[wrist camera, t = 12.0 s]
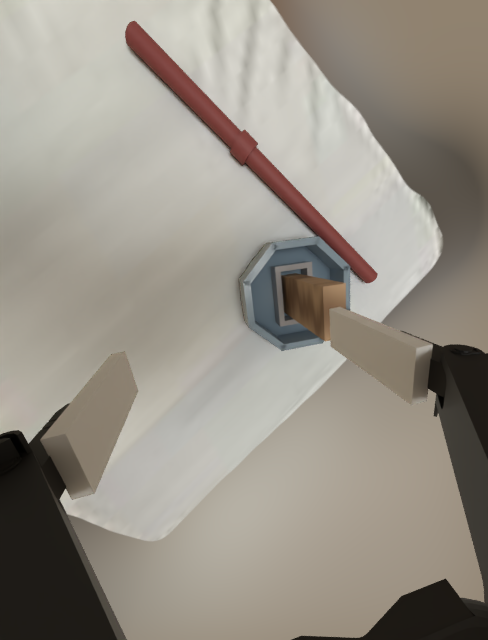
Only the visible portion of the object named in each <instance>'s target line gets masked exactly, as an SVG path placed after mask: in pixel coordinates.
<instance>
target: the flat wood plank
mask: <svg viewBox="0 0 488 640" xmlns="http://www.w3.org/2000/svg"><path fill="white" fill-rule="evenodd" d="M281 281H282V294H283V306H284V313H286V314H287V315H289V316H290V317H291V318H293V319H294V320H296V321H297V322H298V323H300V324H301V325H303V326H304V327H305V328H307V329H308V330H310V331H311V332H312V333H314V334H315V335H317V336H318V337H319V338H321V339H322V340H324V341H329V340H331V338H330V313H329V309H332V308H337V307H341V308H344V309H346V283H343V282H338V281H333V280H328V279H322V278H317V277H312V276H307V275H302V274H297V273H294V274H287V275H281Z"/></svg>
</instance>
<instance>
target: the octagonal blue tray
mask: <svg viewBox="0 0 488 640" xmlns="http://www.w3.org/2000/svg"><path fill="white" fill-rule="evenodd" d="M294 273H297V274H302V275H307V276H312V277H317V278H322V279H328V280H333V281H338V282H343V283H346V310H350V265H348V264H347V263H346V262H345V261H344V260H343V259H342V258H341V257H340V256H339V255H338V254H337V253H336V252H335V251H334V250H333V249H331V248H330V247H329V246H328V245H327V244H326V243H325V242H324V241H323V240H322V239H321V238H320V237H319V236H315V237H310V238H303V239H295V240H288V241H280V242H270V243H266V244H265V245H264V246H263V248H262V249H261V250H260V252H259V253H258V254H257V255H256V256H255V257H254V258H253V260H252V261H251V262H250V264H249V265H248V267H247V269H246V271H245V272H244V273H243V275H242V276H241V277H240V279H239V283H240V294H241V302H242V307H243V313H244V321H245V322H246V324H247V326H248V327H249V328H251V329H252V330H253V331H255V332H256V333H258V334H259V335H260V336H262V337H263V338H265V339H266V340H268V341H269V342H270V343H272V344H273V345H275V346H276V347H278V348H279V349H280V350H281V351H284V350H289V349H294V348H299V347H305V346H310V345H315V344H321V343H323V342H324V340H322V339H321V338H319V337H318V336H317V335H315V334H314V333H312V332H311V331H310V330H308V329H307V328H305V327H304V326H303V325H301V324H300V323H298V322H297V321H296V320H294V319H293V318H291V317H290V316H289V315H287V314H286V313H284V306H283V294H282V281H281V275H287V274H294Z"/></svg>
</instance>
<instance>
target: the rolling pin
mask: <svg viewBox="0 0 488 640" xmlns="http://www.w3.org/2000/svg"><path fill="white" fill-rule="evenodd" d="M125 38H126V43H127V45H128V46H129V47H130V48H131V49H132V50H133V51H134V52H135V53H136V54H137V55H138V56H139V57H140V58H141V59H142V60H143V61H144V62H145V63H146V64H147V65H148V66H149V67H150V68H151V69H152V70H153V71H154V72H155V73H156V74H157V75H158V76H159V77H160V78H161V79H162V80H163V81H164V82H165V83H166V84H167V85H168V86H169V87H170V88H171V89H172V90H173V91H174V92H175V93H176V94H177V95H178V96H179V97H180V98H181V99H182V100H183V101H184V102H185V103H186V104H187V105H188V106H189V107H190V108H191V109H192V110H193V111H194V112H195V113H196V114H197V115H198V116H199V117H200V118H201V119H202V120H203V121H204V122H205V123H206V124H207V125H208V126H209V127H210V128H211V129H212V130H213V131H214V132H215V133H216V134H217V135H218V136H219V137H220V138H221V139H222V140H223V141H224V142H225V143H226V144H227V145H228V146H229V147H230V148H231V150H230V153H231V154H232V155H233V156H234V157H235V158H236V159H237V160H238V161H239V162H240V163H241V164H242V165H244V164H245V163H246V164H247V165H248V166H249V167H250V168H251V169H252V170H253V171H254V172H255V173H256V174H257V175H258V176H259V177H260V178H261V179H262V180H263V181H264V182H265V183H266V184H267V185H268V186H269V187H270V188H271V189H272V190H273V191H274V192H275V193H276V194H277V195H278V196H279V197H280V198H281V199H282V200H283V201H284V202H285V203H286V204H287V205H288V206H289V207H290V208H291V209H292V210H293V211H294V212H295V213H296V214H297V215H298V216H299V217H300V218H301V219H302V220H303V221H304V222H305V223H306V224H307V225H308V226H309V227H310V228H311V229H312V230H313V231H314V232H315V233H316V234H317V235H318V236H319V237H320V238H321V239H322V240H323V241H324V242H325V243H326V244H327V245H328V246H329V247H330V248H331V249H333V250H334V251H335V252H336V253H337V254H338V255H339V256H340V257H341V258H342V259H343V260H344V261H345V262H346V263H347V264H348V265H350V268H351V269H352V270H353V271H354V272H355V273H356V274H357V275H358V276H359V277H360V278H361V279H362V280H363V281H364V282H365V283H371V282H373V281H374V280H375V279H376V278H377V273H376V272H375V271H374V269H373V268H372V267H371V266H370V265H369V264H368V263H367V262H366V261H365V260H364V259H363V258H362V257H361V256H360V255H359V254H358V253H357V252H356V251H355V250H354V249H353V248H352V247H351V246H350V244H349V243H348V242H347V241H346V240H345V239H344V238H343V237H342V236H341V235H340V234H339V233H338V232H337V231H336V230H335V229H334V228H333V227H332V226H331V225H330V224H329V223H328V222H327V220H326V219H325V218H324V217H323V216H322V215H321V214H320V213H319V212H318V211H317V210H316V209H315V208H314V207H313V206H312V205H311V204H310V203H309V202H308V201H307V200H306V199H305V198H304V196H303V195H302V194H301V193H300V192H299V191H298V190H297V189H296V188H295V187H294V186H293V185H292V184H291V183H290V182H289V181H288V180H287V179H286V178H285V177H284V176H283V175H282V174H281V172H280V171H279V170H278V169H277V168H276V167H275V166H274V165H273V164H272V163H271V162H270V161H269V160H268V159H267V158H266V157H265V156H264V155H263V154H262V153H261V152H260V151H259V150H258V149H257V147H256V146H257V145H258V143H257V142H256V141H255V140H254V139H253V138H252V137H251V136H250V135H249V133H248V132H247V131H246V130H243V131H242V132H241V131H240V130H239V129H238V128H237V127H236V126H235V125H234V123H233V122H232V121H231V120H230V119H229V118H228V117H227V116H226V115H225V114H224V113H223V112H222V111H221V110H220V109H219V108H218V107H217V106H216V105H215V104H214V103H213V102H212V101H211V99H210V98H209V97H208V96H207V95H206V94H205V93H204V92H203V91H202V90H201V89H200V88H199V87H198V86H197V85H196V84H195V83H194V82H193V81H192V80H191V79H190V78H189V77H188V76H187V74H186V73H185V72H184V71H183V70H182V69H181V68H180V67H179V66H178V65H177V64H176V63H175V62H174V61H173V60H172V59H171V58H170V57H169V56H168V55H167V54H166V53H165V52H164V50H163V49H162V48H161V47H160V46H159V45H158V44H157V43H156V42H155V41H154V40H153V39H152V38H151V37H150V36H149V35H148V34H147V33H146V32H145V31H144V30H143V29H142V28H141V26H140V25H139V24H138V23H137V22H136V21H132V22H130V23H129V24H128V26H127V28H126V32H125Z"/></svg>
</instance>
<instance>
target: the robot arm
mask: <svg viewBox="0 0 488 640" xmlns="http://www.w3.org/2000/svg"><path fill="white" fill-rule="evenodd" d="M329 313H330V338H331V347H332V348H334V349H335V350H336V351H338V352H339V353H340V354H342V355H343V356H345V357H346V358H347V359H349V360H350V361H352V362H353V363H354V364H356V365H357V366H358V367H360V368H361V369H363V370H364V371H365V372H367V373H368V374H369V375H371V376H372V377H374V378H375V379H376V380H378V381H379V382H380V383H382V384H383V385H384V386H386V387H387V388H388V389H390V390H391V391H393V392H394V393H395V394H397V395H398V396H400V397H401V398H402V399H404V400H405V401H406V402H408V403H409V404H411V405H414V404H418V403H421V402H424V401H427V394H428V389H430V390H431V391H433V392H435V393H436V401H435V410H434V416H436V417H437V414H438V413H439V416H440V420H441V424H442V428H443V431H444V435H445V439H446V443H447V446H448V451H449V454H450V458H451V462H452V466H453V469H454V473H455V477H456V481H457V484H458V488H459V492H460V496H461V499H462V503H463V507H464V511H465V514H466V518H467V522H468V525H469V530H470V533H471V537H472V541H473V545H474V548H475V552H476V556H477V559H478V563H479V567H480V571H481V574H482V580H483V586H484V601H485V603H484V602H480V601H477V600H471V599H466V598H460V597H459V596H458V594H457V593H456V592H455V590H454V589H453V588H452V586H451V585H450V584H449V582H448V581H447V580H446V579H444V580H441V581H439V582H436V583H434V584H431V585H428V586H426V587H423V588H421V589H418V590H416V591H413V592H411V593H408V594H406V595H403V596H401V597H400V598H399V600H398V601H397V602H396V603H395V604H394V605H393V606H392V607H391V608H390V609H389V610H388V611H387V613H386V614H385V615H384V616H383V617H382V618H381V619H380V620H379V621H378V622H377V623H376V624H375V626H374V627H373V628H372V629H371V630H370V631H369V632H368V633H367V634H366V635H365V636H363V637H360V638H342V637H341V638H340V637H316V636H300V637H297V638H295V639H292V640H488V353H487V354H485V353H484V352H482V351H481V350H479V349H477V348H474V347H470V346H466V345H446V346H444V347H442V346H439V345H436V344H434V343H431V342H429V341H426V340H424V339H420V338H419V337H416V336H412V335H411V334H409V333H406V332H404V331H399V330H396V329H394V328H391V327H389V326H386V325H383V324H381V323H379V322H376V321H374V320H371V319H369V318H366V317H364V316H361V315H359V314H356V313H354V312H351V311H349V310H346V309H344V308H341V307H337V308H332V309H329ZM137 392H138V389H137V386H136V383H135V380H134V377H133V374H132V371H131V368H130V365H129V362H128V359H127V357H126V354H125V352H120V353H115V354H111V355H110V356H109V358H108V359H107V360H106V361H105V362H104V364H103V365H102V366H101V367H100V368H99V370H98V371H97V372H96V373H95V374H94V376H93V377H92V378H91V379H90V380H89V382H88V383H87V384H86V385H85V386H84V388H83V389H82V390H81V391H80V392H79V394H78V395H77V396H76V397H75V398H74V400H73V401H72V402H71V403H69V404H67V405H65V406H64V407H63V408H61V409H60V410H59V411H57V412H56V413H55V414H54V415H53V417H52V418H51V419H50V420H49V422H48V423H46V425H45V426H44V427H43V428H42V430H40V431H39V433H38V434H37V435H36V436H35V437H34V438H33V439H32V441H31V442H30V443H29V444H28V442H27V441H26V439H25V437H24V435H23V433H22V432H21V431H19V430H17V431H10V432H6V433H3V434H0V640H127V639H126V637H125V635H124V633H123V631H122V629H121V627H120V625H119V623H118V621H117V618H116V616H115V614H114V612H113V610H112V608H111V606H110V604H109V602H108V600H107V598H106V595H105V593H104V591H103V589H102V587H101V585H100V583H99V581H98V579H97V576H96V574H95V572H94V570H93V568H92V566H91V564H90V562H89V560H88V558H87V556H86V553H85V551H84V549H83V547H82V545H81V543H80V541H79V539H78V537H77V535H76V533H75V530H74V528H73V526H72V524H71V522H70V520H69V518H68V516H67V514H66V511H65V509H64V507H63V505H62V504H61V502H60V500H59V499H60V497H61V495H62V494H63V492H64V490H65V488H66V490H67V491H68V493H69V495H70V497H71V499H72V500H73V499H77V498H80V497H84V496H88V495H91V494H94V493H95V491H96V489H97V486H98V484H99V482H100V479H101V477H102V475H103V472H104V470H105V468H106V465H107V463H108V461H109V458H110V456H111V453H112V451H113V449H114V446H115V444H116V442H117V439H118V437H119V435H120V432H121V430H122V428H123V425H124V423H125V421H126V418H127V416H128V414H129V411H130V409H131V406H132V404H133V402H134V399H135V397H136V395H137Z"/></svg>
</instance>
